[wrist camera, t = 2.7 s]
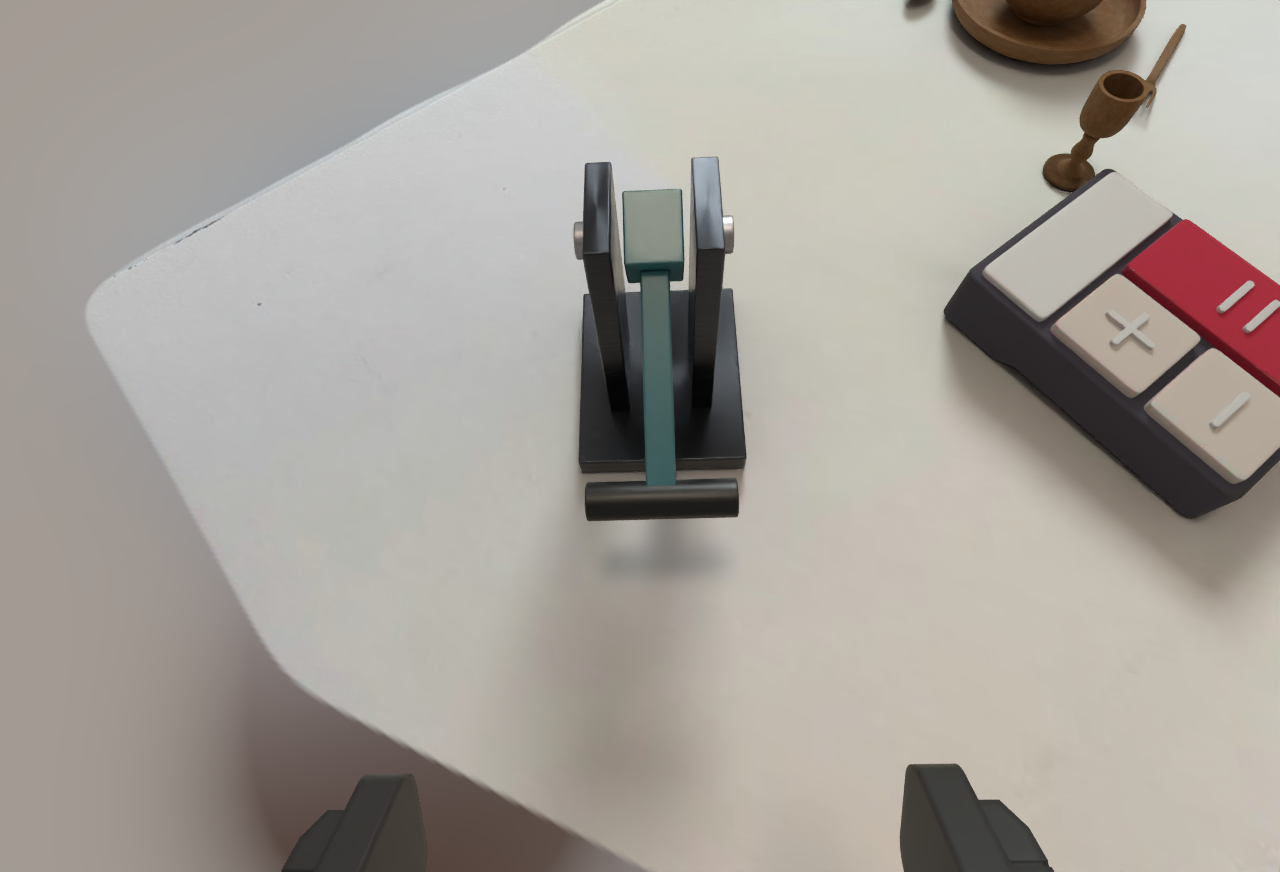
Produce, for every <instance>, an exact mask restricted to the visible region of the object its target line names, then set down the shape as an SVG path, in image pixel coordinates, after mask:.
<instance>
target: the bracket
mask: <svg viewBox="0 0 1280 872" xmlns="http://www.w3.org/2000/svg"><path fill="white" fill-rule="evenodd" d="M574 248H575V255H576V258H577V259H578V260H582V259H583V262H584V267H585V273H586V278H587V284H588V289H589V294H584V297H583V331H582V365H581V400H580V434H579V465H580V468H581V471H582V472H583V473H584V472H619V471H646V460H645V426H644V391H643V356H642V321H641V292H628V293H625V286H624V277H623V268H622V258H621V249H620V240H619V231H618V221H617V212H616V203H615V193H614V184H613V175H612V166H611V163H610V162H600V163H586V164H585V177H584V210H583V222H575V224H574ZM733 248H734V222H733V217H732V216H731V215H729V216H723V211H722V199H721V186H720V174H719V161H718V157H701V158H692V160H691V204H690V252H689V290H680V291H670V307H671V339H672V371H673V402H674V434H675V466H676V470H688V469H722V468H744V466H745V462H746V446H745V434H744V422H743V410H742V398H741V386H740V374H739V362H738V350H737V338H736V326H735V314H734V302H733V290H732V289H722V283H723V271H724V260H725V254H731V253H732V252H733Z"/></svg>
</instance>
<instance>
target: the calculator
mask: <svg viewBox="0 0 1280 872" xmlns="http://www.w3.org/2000/svg"><path fill="white" fill-rule="evenodd" d="M944 314H945V316H946V317H947V318H948V319H949V320H950V321H951V322H952V323H953V324H955V325H956V326H957V327H958V328H959V329H960V330H961V331H963V332H964V333H965V334H966V335H967V336H968V337H969V338H970V339H972V340H973V341H974V342H975V343H976V344H977V345H978V346H979V347H981V348H982V349H983V350H984V351H985V352H986V353H987V354H988V355H990V356H991V357H992V358H993V359H995V360H997V361H1000V362H1003V363H1006V364H1009V365H1011V366H1013V367H1015V368H1016V369H1017V370H1018V371H1020V372H1021V373H1022V374H1023V375H1024V376H1025V377H1026V378H1028V379H1029V380H1030V381H1031V382H1032V383H1033V384H1034V385H1035V386H1037V387H1038V388H1039V389H1040V390H1041V391H1042V392H1043V393H1045V394H1046V395H1047V396H1048V397H1049V398H1050V399H1051V400H1052V401H1054V402H1055V403H1056V404H1057V405H1058V406H1059V407H1060V408H1062V409H1063V410H1064V411H1065V412H1066V413H1067V414H1068V415H1070V416H1071V417H1072V418H1073V419H1074V420H1075V421H1076V422H1077V423H1079V424H1080V425H1081V426H1082V427H1083V428H1084V429H1085V430H1087V431H1088V432H1089V433H1090V434H1091V435H1092V436H1093V437H1095V438H1096V439H1097V440H1098V441H1099V442H1100V443H1101V444H1102V445H1104V446H1105V447H1106V448H1107V449H1108V450H1109V451H1110V452H1112V453H1113V454H1114V455H1115V456H1116V457H1117V458H1118V459H1120V460H1121V461H1122V462H1123V463H1124V464H1125V465H1126V466H1127V467H1129V468H1130V469H1131V470H1132V471H1133V472H1134V473H1135V474H1137V475H1138V476H1139V477H1140V478H1141V479H1142V480H1143V481H1144V482H1146V483H1147V484H1148V485H1149V486H1150V487H1151V488H1152V489H1154V490H1155V491H1156V492H1157V493H1158V494H1159V495H1160V496H1162V497H1163V498H1164V499H1165V500H1166V501H1167V502H1168V503H1169V504H1171V505H1172V506H1173V507H1174V508H1175V509H1176V510H1177V511H1179V512H1180V513H1181V514H1182V515H1184V516H1185V517H1188V518H1196V517H1198V516H1201V515H1203V514H1205V513H1208V512H1210V511H1213V510H1215V509H1217V508H1220V507H1222V506H1224V505H1227V504H1229V503H1231V502H1233V501H1236V500H1238V499H1240V498H1241V497H1243V496H1244V495H1245V494H1246V493H1247V492H1248V491H1249V490H1250V489H1251V488H1252V487H1253V486H1254V485H1255V484H1256V483H1257V482H1258V481H1259V480H1260V479H1261V478H1262V477H1263V476H1264V475H1265V474H1266V473H1267V472H1268V471H1269V470H1270V469H1271V468H1272V467H1273V466H1274V465H1275V464H1276V463H1277V462H1278V461H1279V460H1280V285H1279V284H1277V283H1276V282H1275V281H1273V280H1272V279H1270V278H1269V277H1268V276H1266V275H1265V274H1263V273H1262V272H1261V271H1259V270H1258V269H1257V268H1255V267H1254V266H1252V265H1251V264H1250V263H1248V262H1247V261H1245V260H1244V259H1243V258H1241V257H1240V256H1239V255H1237V254H1236V253H1234V252H1233V251H1232V250H1230V249H1229V248H1227V247H1226V246H1225V245H1223V244H1222V243H1221V242H1219V241H1218V240H1216V239H1215V238H1214V237H1212V236H1211V235H1209V234H1208V233H1207V232H1205V231H1204V230H1203V229H1201V228H1200V227H1198V226H1197V225H1196V224H1194V223H1192V222H1191V221H1189V220H1187V219H1185V220H1182V219H1181V218H1179V217H1178V216H1177V215H1175V214H1174V213H1173V212H1171V211H1170V210H1169V209H1168V208H1166V207H1165V206H1163V205H1162V204H1161V203H1159V202H1158V201H1157V200H1155V199H1154V198H1152V197H1151V196H1150V195H1148V194H1147V193H1145V192H1144V191H1143V190H1141V189H1140V188H1139V187H1137V186H1136V185H1134V184H1133V183H1132V182H1130V181H1129V180H1128V179H1126V178H1125V177H1123V176H1122V175H1121V174H1119V173H1117V172H1116V171H1114V170H1112V169H1105V170H1103V171H1101V172H1100V173H1098V174H1097V175H1096V176H1094V177H1093V178H1092V179H1090V180H1089V181H1088V182H1086V183H1085V184H1084V185H1082V186H1081V187H1080V188H1078V189H1077V190H1076V191H1074V192H1073V193H1072V194H1070V195H1069V196H1068V197H1066V198H1065V199H1064V200H1062V201H1061V202H1060V203H1058V204H1057V205H1056V206H1054V207H1053V208H1052V209H1050V210H1049V211H1048V212H1046V213H1045V214H1044V215H1042V216H1041V217H1040V218H1038V219H1037V220H1036V221H1034V222H1033V223H1032V224H1030V225H1029V226H1028V227H1026V228H1025V229H1024V230H1022V231H1021V232H1020V233H1018V234H1017V235H1016V236H1014V237H1013V238H1011V239H1010V240H1009V241H1007V242H1006V243H1005V244H1003V245H1002V246H1001V247H999V248H998V249H997V250H995V251H994V252H993V253H991V254H990V255H989V256H987V257H986V258H985V259H983V260H982V261H981V262H979V263H978V264H977V265H975V266H974V267H973V268H972V269H971V270H970V271H969V272H968V274H967V275H966V277H965V278H964V280H963V281H962V283H961V284H960V286H959V287H958V289H957V290H956V292H955V293H954V295H953V296H952V298H951V299H950V301H949V302H948V304H947V305H946V307H945V309H944Z"/></svg>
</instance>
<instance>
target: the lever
mask: <svg viewBox="0 0 1280 872" xmlns="http://www.w3.org/2000/svg"><path fill="white" fill-rule="evenodd" d="M622 199H623V236H624V265H625V270H626V275H627V280H628V283H640V286H641V321H642V356H643V391H644V426H645V460H646V481H624V482H588V483H587V484H586V487H585V512H586V518H587V520H588V521H611V520H649V519H687V518H725V517H738V513H739V493H738V483H737V480H736V479H735V478H729V479H694V480H676V466H675V434H674V402H673V371H672V339H671V307H670V281H682V280H683V273H684V237H683V207H682V190H681V189H667V190H644V191H624V192H623V193H622Z"/></svg>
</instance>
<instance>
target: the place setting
mask: <svg viewBox="0 0 1280 872" xmlns="http://www.w3.org/2000/svg"><path fill="white" fill-rule="evenodd" d="M952 3H953V7H954V11H955V13H956V15H957V18H958V20H959V21H960V23H961V24H962V25H963V27H964V28H965V29H966V30H967V31H968V33H969V34H970V35H971V36H973V37H974V38H975V39H976V40H977V41H979V42H980V43H982V44H983V45H985V46H986V47H988V48H990V49H992V50H994V51H996V52H998V53H1000V54H1003V55H1005V56H1008V57H1011V58H1014V59H1017V60H1022V61H1026V62H1032V63H1039V64H1069V63H1077V62H1081V61H1086V60H1090V59H1093V58H1096V57H1099V56H1101V55H1103V54H1105V53H1108V52H1110V51H1111V50H1113V49H1115V48H1116V47H1118V46H1119V45H1121V44H1122V43H1123V42H1124V41H1125V40H1126V39H1127V38H1129V37H1130V35H1131V34H1132V33H1133V32H1134V30H1135V29H1136V28H1137V27H1138V25H1139V24H1140V22H1141V20H1142V18H1143V16H1144V14H1145V9H1146V0H952ZM1185 28H1186V25H1184V24H1181V25H1180V26H1179V28H1178V29H1177V30H1176V32H1175V33H1174V35H1173V36H1172V38H1171V39H1170V41H1169V42H1168V44H1167V46H1166V48H1165V49H1164V51H1163V53H1162V54H1161V56H1160V58H1159V60H1158V61H1157V63H1156V65H1155V67H1154V68H1153V70H1152V72H1151V74H1150V75H1149V77H1148V78H1147V80H1144V79H1143V78H1141V77H1140V76H1138V75H1136V74H1134V73H1132V72H1129V71H1123V70H1114V71H1109V72H1107V73H1105V74H1103V75H1102V76H1101V77H1100V79H1099V80H1098V82H1097V83H1096V85H1095V86H1094V88H1093V90H1092V92H1091V93H1090V95H1089V97H1088V99H1087V101H1086V103H1085V105H1084V107H1083V109H1082V111H1081V115H1080V126H1081V128H1082V130H1083V131H1084V132H1085V133H1084V135H1083V138H1082V140H1081V141H1080V142H1078V143H1077V144H1076V145H1075V146H1074V147H1073V148H1072V150H1071V154H1058V155H1054V156H1052V157H1050V158H1049V159H1048V160H1047V161H1046V162H1045V164H1044V169H1043V171H1044V175H1045V177H1046V179H1047V180H1048V181H1049V182H1050V183H1051V184H1053V185H1054V186H1056V187H1058V188H1060V189H1063V190H1068V191H1076V190H1077V189H1078V188H1080V187H1081V186H1082V185H1084V184H1085V183H1086V182H1088V181H1089V180H1090V179H1092V178H1093V177H1094V176H1095V172H1094V169H1093V167H1092V166H1091V165H1090V163H1089V162H1087V161H1086V160H1087V159H1088V158H1089V157H1090V156H1091V155H1092V153H1093V147H1094V144H1095V143H1096V142H1097V141H1098V140H1099V139H1100V138H1107V137H1111V136H1113V135H1115V134H1116V133H1118V132H1119V131H1120V130H1121V129H1123V128H1124V127H1125V125H1126V124H1127V123H1128V122H1129V121H1130V119H1131V118H1132V117H1133V115H1134V114H1135V112H1136V111H1137V110H1138V108H1139V107H1140V105H1142V104H1143V103H1144V101H1145V99H1146V97H1147V96H1148V94H1149V92H1152V96H1151V97H1150V99H1149V101H1148V104H1147V106H1146V107H1147V108H1148V107H1149V105H1150V104H1151V102H1152V100H1153V98H1154V96H1155V94H1156V88H1155V85H1154V84H1155V81H1156V79H1157V77H1158V76H1159V74H1160V72H1161V71H1162V69H1163V67H1164V66H1165V64H1166V62H1167V61H1168V59H1169V57H1170V56H1171V54H1172V52H1173V51H1174V49H1175V47H1176V46H1177V44H1178V42H1179V40H1180V38H1181V37H1182V35H1183V32H1184V30H1185Z"/></svg>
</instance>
